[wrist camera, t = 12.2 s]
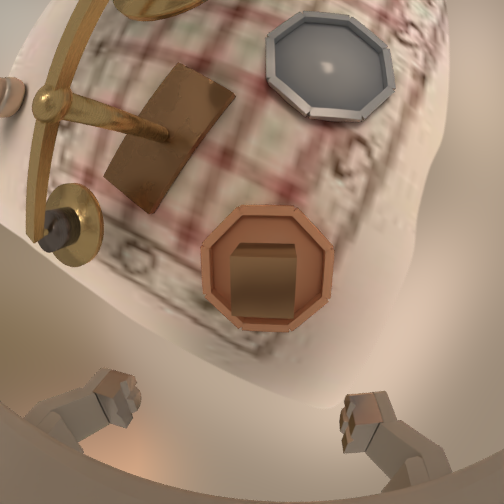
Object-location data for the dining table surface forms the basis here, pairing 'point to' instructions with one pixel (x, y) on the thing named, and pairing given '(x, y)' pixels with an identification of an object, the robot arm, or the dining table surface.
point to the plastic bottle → (10, 96)
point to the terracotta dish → (269, 231)
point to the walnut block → (263, 280)
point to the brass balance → (104, 116)
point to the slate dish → (329, 66)
